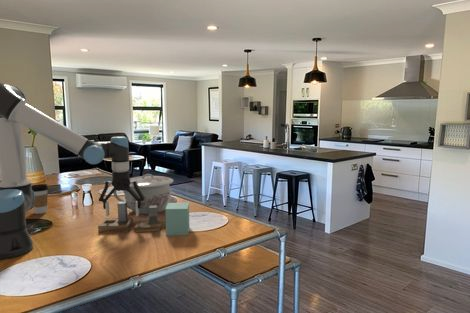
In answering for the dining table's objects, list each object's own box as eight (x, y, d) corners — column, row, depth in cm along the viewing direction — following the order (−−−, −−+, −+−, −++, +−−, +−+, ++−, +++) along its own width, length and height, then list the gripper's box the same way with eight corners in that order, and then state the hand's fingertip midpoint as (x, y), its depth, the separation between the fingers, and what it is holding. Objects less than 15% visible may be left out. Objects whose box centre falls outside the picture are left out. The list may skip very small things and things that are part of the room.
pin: (126, 228, 156) (125, 203, 154) (118, 228, 155) (117, 203, 154) (127, 226, 159) (126, 201, 157) (120, 226, 159) (119, 201, 157)
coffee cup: (41, 215, 175) (39, 187, 173) (27, 214, 177) (25, 186, 175) (53, 210, 183) (51, 183, 181) (40, 209, 185) (37, 182, 183)
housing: (188, 234, 149) (187, 208, 147) (166, 235, 148) (165, 209, 146) (189, 227, 158) (189, 202, 157) (168, 227, 158) (168, 202, 156)
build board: (128, 231, 152) (127, 225, 152) (98, 232, 151) (98, 226, 151) (133, 223, 163) (133, 217, 162) (106, 224, 162) (105, 218, 161)
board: (159, 231, 153) (158, 209, 152) (134, 231, 152) (133, 210, 151) (162, 223, 164) (162, 203, 162) (139, 223, 163) (139, 203, 162)
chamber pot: (182, 206, 193) (181, 170, 190) (159, 221, 166) (158, 180, 164) (139, 202, 200) (138, 168, 197) (110, 216, 174) (108, 177, 171)
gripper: (149, 168, 158) (151, 212, 161) (95, 169, 156) (97, 213, 159) (146, 171, 151) (148, 217, 153) (89, 172, 149) (92, 218, 152)
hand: (122, 215), depth 156 cm, fingers open, 13 cm apart
